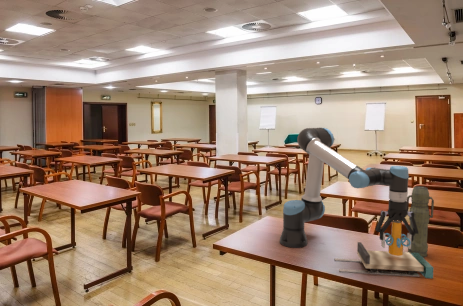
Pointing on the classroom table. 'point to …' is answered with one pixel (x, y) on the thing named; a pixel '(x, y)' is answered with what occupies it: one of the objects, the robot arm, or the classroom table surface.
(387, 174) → the robot arm
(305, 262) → the classroom table surface
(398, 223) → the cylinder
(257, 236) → the classroom table surface
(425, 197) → the thermos
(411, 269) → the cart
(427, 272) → the track
